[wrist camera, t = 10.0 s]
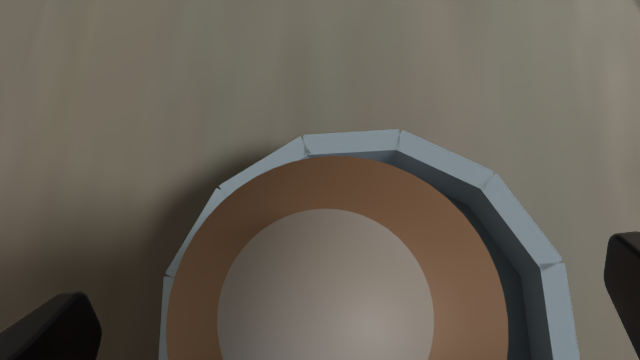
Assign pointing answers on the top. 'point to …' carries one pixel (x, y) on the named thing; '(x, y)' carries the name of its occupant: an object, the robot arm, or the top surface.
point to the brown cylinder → (336, 272)
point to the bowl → (480, 210)
